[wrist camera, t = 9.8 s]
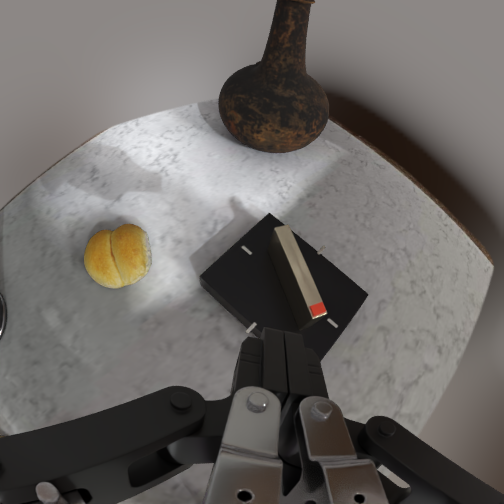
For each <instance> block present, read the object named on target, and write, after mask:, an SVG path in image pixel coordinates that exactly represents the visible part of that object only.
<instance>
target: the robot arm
mask: <svg viewBox="0 0 504 504" xmlns="http://www.w3.org/2000/svg"><path fill="white" fill-rule="evenodd" d="M6 320H7V310H6V304H5V301H4V298H3V296H2V295H1V293H0V340H1V338H2V336H3V333H4V330H5V326H6ZM201 463H214V465H213V468H212V472H211V475H210V479H209V482H208V486H207V489H206V492H205V496H204V499H203V502H202V504H504V494H502V493H500V492H499V491H497V490H495V489H494V488H492V487H491V486H489V485H487V484H485V483H484V482H483V481H481V480H480V479H478V478H476V477H475V476H473V475H472V474H470V473H469V472H467V471H466V470H464V469H462V468H461V467H460V466H458V465H457V464H455V463H454V462H452V461H451V460H449V459H448V458H446V457H445V456H443V455H442V454H441V453H439V452H438V451H436V450H435V449H433V448H432V447H430V446H429V445H428V444H426V443H425V442H423V441H422V440H420V439H419V438H418V437H416V436H415V435H414V434H412V433H411V432H409V431H408V430H407V429H405V428H404V427H403V426H401V425H400V424H398V423H397V422H396V421H394V420H393V419H391V418H388V417H385V416H375V417H372V418H370V419H369V420H368V421H367V423H366V424H362V423H359V422H355V421H352V420H349V419H346V418H344V417H343V414H342V412H341V409H340V408H339V406H338V405H337V404H335V403H334V402H333V401H331V400H329V397H328V393H327V388H326V384H325V380H324V376H323V372H322V368H321V363H320V359H319V357H318V356H317V354H316V353H315V352H314V351H313V349H310V348H305V347H304V342H303V337H302V335H301V334H296V333H291V332H286V331H281V330H276V329H271V328H266V327H264V328H263V331H262V334H261V337H260V339H258V338H253V337H248V338H247V339H245V340H244V341H243V342H242V345H241V349H240V352H239V356H238V360H237V363H236V367H235V371H234V376H233V383H232V388H231V395H230V396H229V397H227V398H225V399H222V400H215V401H205V400H204V398H203V397H202V396H201V395H200V394H199V393H198V392H196V391H194V390H192V389H190V388H187V387H183V386H171V387H167V388H164V389H161V390H159V391H156V392H154V393H151V394H149V395H146V396H143V397H140V398H138V399H135V400H132V401H130V402H127V403H124V404H121V405H118V406H115V407H112V408H109V409H106V410H103V411H100V412H97V413H94V414H91V415H88V416H84V417H81V418H78V419H74V420H71V421H67V422H64V423H60V424H57V425H53V426H49V427H45V428H41V429H37V430H33V431H29V432H25V433H20V434H16V435H11V436H6V437H1V438H0V504H117V503H119V502H121V501H124V500H126V499H128V498H131V497H133V496H135V495H137V494H139V493H142V492H144V491H146V490H148V489H150V488H152V487H154V486H156V485H158V484H160V483H162V482H164V481H166V480H168V479H170V478H172V477H173V476H175V475H177V474H179V473H181V472H183V471H184V470H186V469H188V468H190V467H191V466H192V465H193V464H201ZM382 464H383V465H384V466H385V467H386V468H388V469H389V470H390V471H392V472H393V473H394V474H396V475H397V476H398V477H400V478H401V479H402V480H404V481H405V482H406V483H408V484H409V485H410V487H408V488H401V487H399V486H397V485H396V484H394V483H393V482H392V481H391V480H390V479H388V478H387V477H386V476H384V475H383V474H382V473H381V472H379V471H378V470H377V469H378V468H379V467H380V466H381V465H382Z"/></svg>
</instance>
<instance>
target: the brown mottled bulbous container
mask: <svg viewBox="0 0 504 504" xmlns="http://www.w3.org/2000/svg"><path fill="white" fill-rule="evenodd" d="M313 3H315V1H314V0H277V4H276V8H275V12H274V17H273V21H272V25H271V29H270V33H269V37H268V41H267V44H266V48H265V51H264V54H263V57H262V60H261V61H259V62H257V63H256V64H254V65H250V66H247V67H244V68H242V69H240V70H238V71H237V72H235V73H234V74H233V75H232V76H230V77H229V78H228V79H227V81H226V82H225V83H224V85H223V87H222V89H221V92H220V95H219V103H218V104H219V112H220V116H221V119H222V121H223V123H224V125H225V126H226V128H227V129H228V130H229V132H230V133H231V134H232V135H233V136H234V137H235V138H237V139H238V140H239V141H241V142H242V143H243V144H245V145H247V146H249V147H251V148H253V149H256V150H260V151H264V152H270V153H286V152H291V151H295V150H298V149H301V148H303V147H305V146H307V145H308V144H310V143H311V142H312V141H314V140H315V139H316V138H317V137H318V136H319V135H320V134H321V132H322V131H323V130H324V128H325V126H326V124H327V121H328V117H329V104H328V100H327V97H326V95H325V92H324V90H323V89H322V87H321V86H320V85H319V84H318V83H317V82H316V80H314V79H313V78H312V77H311V76H309V75H308V74H307V73H306V67H305V49H306V37H307V28H308V21H309V13H310V7H311V4H313Z"/></svg>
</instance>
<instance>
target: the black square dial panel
mask: <svg viewBox="0 0 504 504" xmlns="http://www.w3.org/2000/svg"><path fill="white" fill-rule="evenodd" d="M280 226H284V224H283V223H282V222H280V221H279V220H278V219H277V218H275V217H274V216H273V215H271V214H270V213H269V214H267V215H266V216H265V217H264V218H263V219H262V220H261V221H260V222H259V223H257V224H256V225H255V226H254V227H253V228H252V229H251V230H250V231H249V232H247V233H246V234H245V235H244V236H243V237H242V238H241V239H240V240H239V241H238V242H236V243H235V244H234V245H233V246H232V247H231V248H230V249H229V250H228V251H227V252H225V253H224V254H223V255H222V256H221V257H220V258H219V259H218V260H217V261H216V262H215V263H213V264H212V265H211V266H210V267H209V268H208V269H207V270H206V271H205V272H204V273H203V274H202V275H200V281H201V286H202V287H203V288H204V289H205V290H207V291H208V292H209V293H210V294H211V295H212V296H213V297H214V298H215V299H216V300H217V301H218V302H219V303H220V304H222V305H223V306H224V307H225V308H226V309H227V310H228V311H229V312H230V313H231V314H232V315H234V316H235V317H236V318H237V319H238V320H239V321H240V322H241V323H242V324H244V325H245V326H246V327H247V328H248V329H247V330H246V331H245V332H246V333H247V334H248V333H249V332H250V331H251V332H253V333H254V334H255V335H256V336H257V337H258V338H259V339H260V337H261V334H262V331H263V328H264V327H266V328H271V329H276V330H281V331H286V332H291V333H296V334H301V335H302V337H303V342H304V347H305V348H310V349H313V351H314V352H315V353H316V354H317V356H318V357H319V359H320V361H321V360H322V359H323V357H324V356H325V355H326V354H327V352H328V351H329V350H330V348H331V347H332V346H333V344H334V343H335V342H336V340H337V339H338V338H339V336H340V335H341V334H342V332H343V331H344V330H345V328H346V327H347V325H348V324H349V323H350V321H351V320H352V318H353V317H354V315H355V314H356V313H357V311H358V310H359V308H360V307H361V305H362V304H363V302H364V301H365V299H366V298H367V296H368V294H367V293H366V292H365V291H364V290H363V289H362V288H360V287H359V286H358V285H357V284H356V283H355V282H353V281H352V280H351V279H350V278H349V277H348V276H346V275H345V274H344V273H343V272H342V271H340V270H339V269H338V268H337V267H336V266H334V265H333V264H332V263H331V262H330V261H328V260H327V259H326V258H325V257H324V256H322V255H321V254H320V253H321V252H322V251H323V250H324V249H325V246H322V248H321V249H320V250H319V251H316V250H315V249H314V248H313V247H311V246H310V245H309V244H308V243H307V242H305V241H304V240H303V239H302V238H300V237H299V236H298V235H297V234H295V233H294V232H293V231H292V230H291V231H292V233H293V236H294V238H295V240H296V242H297V244H298V247H299V249H300V251H301V253H302V256H303V258H304V260H305V262H306V265H307V267H308V269H309V271H310V274H311V276H312V278H313V281H314V283H315V285H316V287H317V290H318V292H319V294H320V297H321V299H322V302H323V304H324V306H325V309H326V311H327V314H326V315H325V316H324V317H322V318H321V319H320V320H318V321H317V322H316V323H314V324H313V325H312V326H309V327H306V328H304V329H301V330H299V328H298V326H297V323H296V321H295V318H294V315H293V313H292V310H291V308H290V305H289V303H288V300H287V298H286V295H285V293H284V290H283V288H282V285H281V283H280V280H279V278H278V275H277V273H276V270H275V268H274V265H273V263H272V260H271V258H270V255H269V253H268V247H269V244H270V240H271V237H272V234H273V231H274V228H276V227H280Z"/></svg>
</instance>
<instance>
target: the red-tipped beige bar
mask: <svg viewBox="0 0 504 504" xmlns="http://www.w3.org/2000/svg"><path fill="white" fill-rule="evenodd" d="M268 253H269V255H270V258H271V260H272V263H273V265H274V268H275V270H276V273H277V275H278V278H279V280H280V283H281V285H282V288H283V290H284V293H285V295H286V298H287V300H288V303H289V305H290V308H291V310H292V313H293V315H294V318H295V321H296V323H297V326H298V328H299V330H301V329H304V328H306V327H309V326H312V325H313V324H314V323H316V322H317V321H318V320H320V319H321V318H322V317H324V316H325V315H326V314H327V311H326V309H325V306H324V304H323V302H322V299H321V297H320V294H319V292H318V290H317V287H316V285H315V283H314V281H313V278H312V276H311V274H310V271H309V269H308V267H307V265H306V262H305V260H304V258H303V256H302V253H301V251H300V249H299V247H298V244H297V242H296V240H295V238H294V236H293V233H292V231H291V229H290V227H289V225H284V226H280V227H276V228H274V231H273V234H272V237H271V240H270V244H269V247H268Z"/></svg>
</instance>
